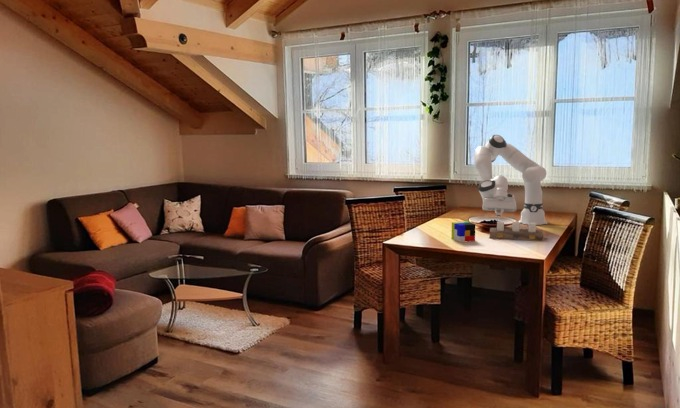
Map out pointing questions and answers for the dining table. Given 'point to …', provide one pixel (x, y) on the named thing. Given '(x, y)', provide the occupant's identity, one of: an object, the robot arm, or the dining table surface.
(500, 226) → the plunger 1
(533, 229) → the plunger
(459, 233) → the puzzle toy
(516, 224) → the plunger middle
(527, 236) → the console
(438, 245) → the dining table surface
